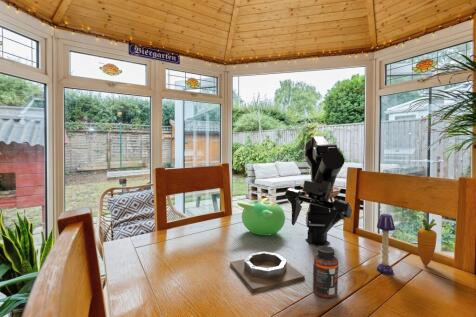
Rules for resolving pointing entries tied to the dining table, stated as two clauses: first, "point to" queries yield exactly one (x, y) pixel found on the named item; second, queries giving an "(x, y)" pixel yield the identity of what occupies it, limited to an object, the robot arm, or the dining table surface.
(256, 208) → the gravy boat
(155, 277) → the dining table surface
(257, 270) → the ring
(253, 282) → the stand
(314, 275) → the supplement bottle
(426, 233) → the carrot
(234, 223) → the dining table surface
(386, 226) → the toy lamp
